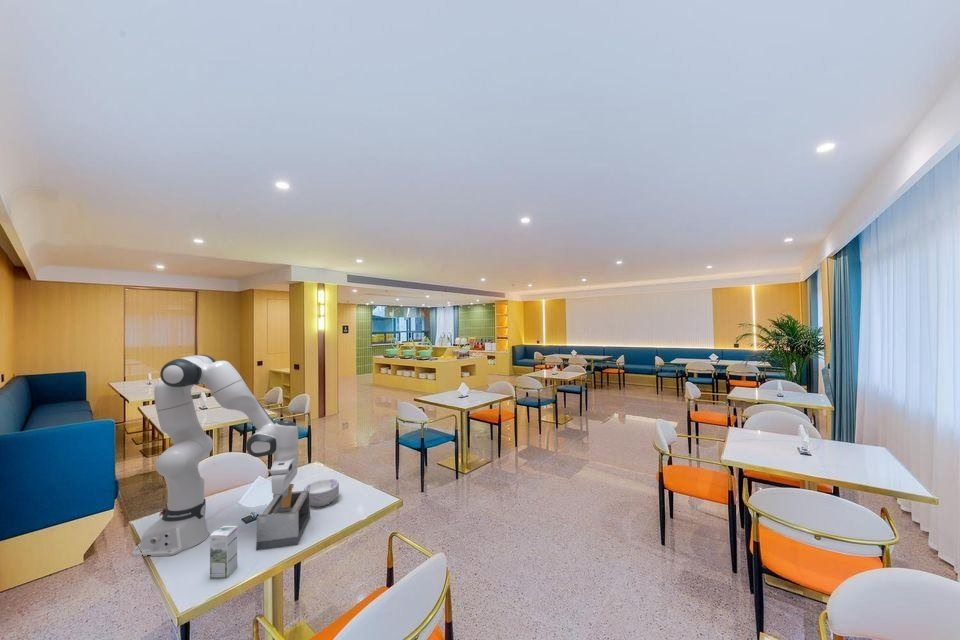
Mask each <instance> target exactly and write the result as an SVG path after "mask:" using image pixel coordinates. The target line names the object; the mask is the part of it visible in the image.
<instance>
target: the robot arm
mask: <svg viewBox="0 0 960 640" xmlns="http://www.w3.org/2000/svg"><path fill="white" fill-rule="evenodd" d="M159 374H160V381H158V382H157V383H156V384H155V386H154V391H153V392H154V393H153V394H154V395H153V397H154V407H155V409H156V415H157V418H158V423H159V427H160V430H161V431H162V432H163V433H165V434H166V435H167V436H168V437H169V438H170V440H171V442H172V444H173V445H172V446H170V447H168V448H166V449H165V450H164V451H163V452H162V453H160V455H159V456H158V458H157V459H156V462H155V470H156V472H157V473H158V474H159V475H160V476H161V477H163V478H164V481H165V484H166V489H167V505H166V507H164V508H163V509H162V511H160V512H159V517H161V516H162V517H161V518H160V519H159V520H157V521H156V522H154V523H153V524H152V525H151V526H150V527H149V528H148V529H146V530H145V532H144V533H143V535H142V536H141V541H140V543H138V544H137V545H138V546H139V548H140V550H141V551H142V553H141V552H140V550H139V548H138V546H137V545H136V546H135V547H134V548H133V550H132V551H131V557H148V556H147V555H151V556H150V557H163V556H164V557H167V556H168V557H169V556H174V555H176V554H179V553H180V552H183V551H185V550H187V549H190V548H193V547H195V546H197V545H199V544H201V543H202V542H204V541H205V540H207V538H208V537H210V532H209V530H208V527H207V526H208V525H207V522H206V512H207V509H206V507H207V505H206V502H207V501H206V499H205V479H204V478H203V477H201V474H200V472H199V464H200V463H201V462H202V461H203V460H205V459H206V458H207V457H208V456H209V454H210V453H211V452H212V450H213V448H214V439H213V438H212V437H211V436H210V435H208V434H207V433H206V432H205V431H204V428H203V427H202V425H201V423H200V421H199V419H198V415H197V411H196V408H195V404H194V399H193V396H192V389H193V387H194V386H195V385H199V384H204V385H205V386H206V387H207V389H208V390H209V391H210V393H211V394H212V396H213V398H214V400H215V402H217V403H218V405H219V406H220V407H222V408H223V409H226V410H231V411H232V410H234V411H238V412H241V413H243V414H244V415H246V417H247V418H248V419H249V420H250V422H251V423H252V425H253V426H254V427H255V429H256V432H255V433H254V434H252V435H250V437H249V438H248V439H247V440H246V444H245V449H246V451H247V453H248V454H249V455H250V456H252V457H254V458H261V457H266V456H270V455H272V456H273V460H272V465H271V467H270V470H269V474H270V475H271V493H272V496H273V495H280V494H282V496H283V497H287V496H288V494H289V487H290V484H292V482H293V480H294V479H295V477H296V476H297V474H298V464H299V450H298V444H299V429H298V425H297V424H296V423H295V421H292V420H284V419H283V420H277V422H275V421H274V420H273V419H272V417H271V416H270V415H269V414H268V412H267V411H266V409H265V408H264V407H263V405H262V404H261V403H260V401H259V400H258V399H257V398H256V397H255V395H254V394H253V393H252V392H251V390H250V389H249V387H248V385H247V383H246V382H245V381H244V380H243V377H242V376H241V374H240V373H239V371H238V370H237V369H236V368H235V367H234V366H233V365H232V364H231V362H229V361H227V360H217V361H216V359H215V358H214V357H212V356H211V355H207V354H206V355H205V354H197V355H195V354H194V355H188V356H184V357H180V358H175V359H172V360H170V361H168V362H166V363H165V364H164V365H163V366H162V368H161V369H160V373H159ZM143 552H144V553H143ZM142 554H143V556H142Z"/></svg>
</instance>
